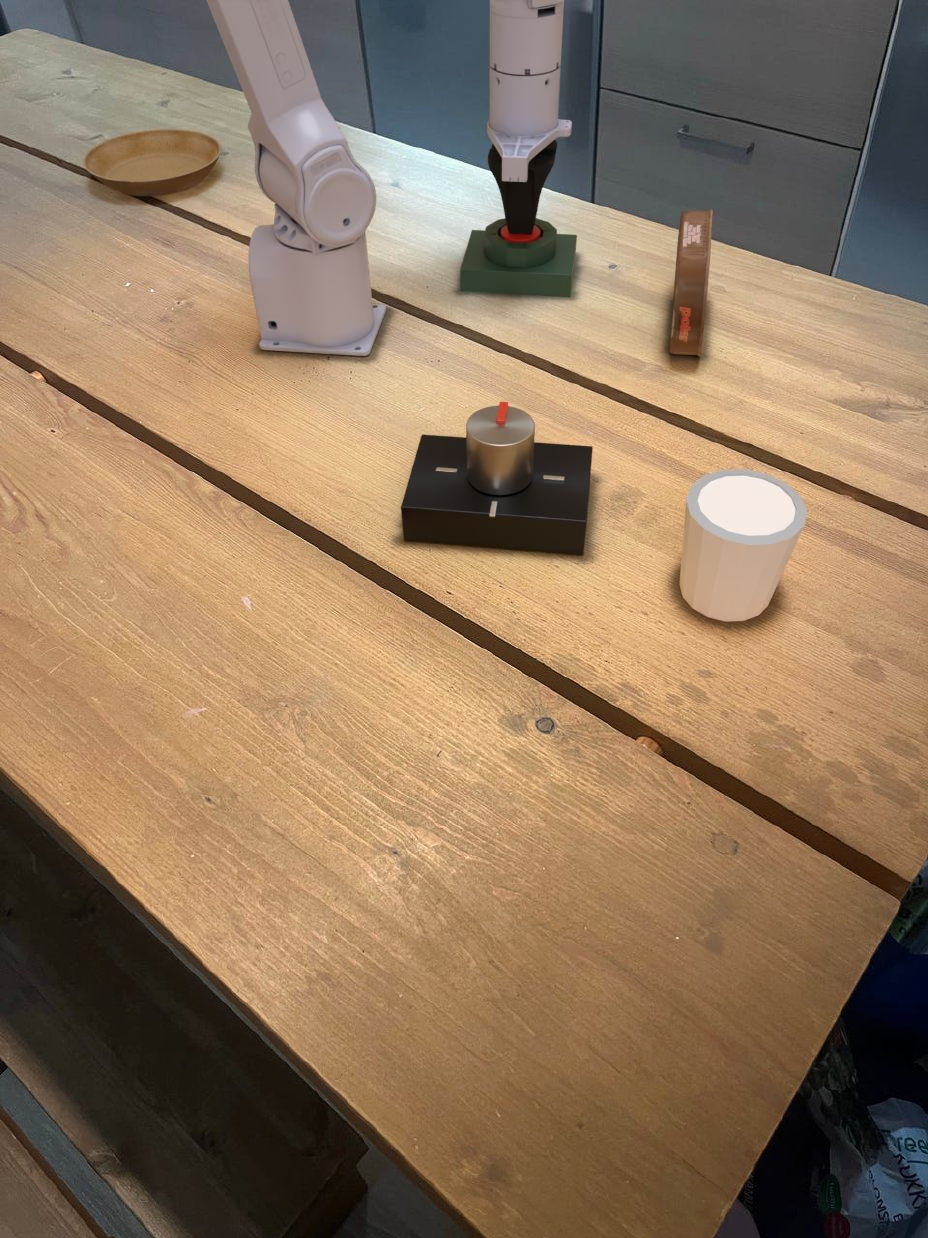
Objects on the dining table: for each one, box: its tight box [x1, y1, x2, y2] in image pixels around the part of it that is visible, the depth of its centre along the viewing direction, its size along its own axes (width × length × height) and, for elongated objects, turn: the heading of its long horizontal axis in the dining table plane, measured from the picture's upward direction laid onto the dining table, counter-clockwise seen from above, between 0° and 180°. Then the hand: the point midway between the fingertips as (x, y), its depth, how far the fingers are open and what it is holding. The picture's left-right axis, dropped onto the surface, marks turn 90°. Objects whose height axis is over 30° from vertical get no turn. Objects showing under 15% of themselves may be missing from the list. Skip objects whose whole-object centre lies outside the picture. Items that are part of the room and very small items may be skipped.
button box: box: [459, 217, 578, 298], centre depth 88 cm, size 10×8×4 cm
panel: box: [400, 434, 594, 556], centre depth 65 cm, size 12×9×3 cm
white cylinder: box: [679, 468, 808, 622], centre depth 58 cm, size 7×7×7 cm
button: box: [501, 225, 540, 243], centre depth 87 cm, size 4×4×2 cm
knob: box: [465, 401, 536, 495], centre depth 62 cm, size 4×4×4 cm
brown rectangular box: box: [668, 209, 714, 357], centre depth 79 cm, size 15×3×8 cm, turn 168°
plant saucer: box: [82, 128, 222, 198], centre depth 105 cm, size 15×15×3 cm
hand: (520, 230), depth 86 cm, fingers closed, pressing on button
